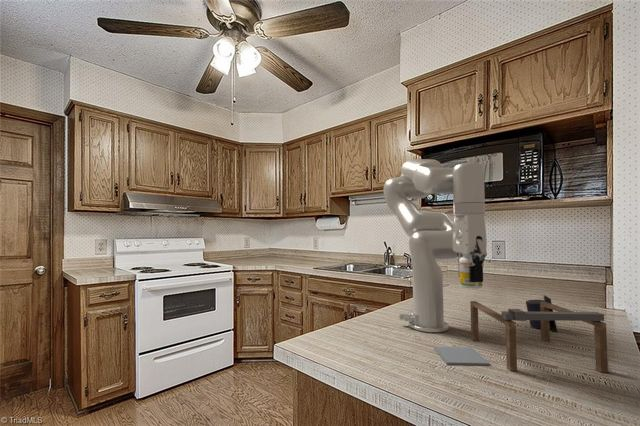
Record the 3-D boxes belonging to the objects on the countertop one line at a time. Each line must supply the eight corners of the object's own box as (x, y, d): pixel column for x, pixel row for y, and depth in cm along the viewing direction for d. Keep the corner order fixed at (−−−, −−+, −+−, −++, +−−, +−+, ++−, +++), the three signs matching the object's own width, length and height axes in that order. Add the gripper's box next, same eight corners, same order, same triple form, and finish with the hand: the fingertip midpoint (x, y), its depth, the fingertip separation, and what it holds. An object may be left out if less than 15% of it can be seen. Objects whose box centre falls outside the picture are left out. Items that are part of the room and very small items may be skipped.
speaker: (558, 327, 104) (553, 294, 105) (557, 332, 100) (552, 298, 100) (530, 324, 109) (526, 294, 109) (528, 330, 104) (523, 298, 105)
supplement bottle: (475, 284, 86) (474, 248, 87) (487, 288, 81) (486, 250, 81) (455, 285, 86) (454, 248, 86) (466, 289, 81) (465, 250, 81)
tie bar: (507, 320, 74) (506, 311, 74) (500, 317, 77) (500, 308, 77) (605, 321, 73) (605, 312, 73) (595, 317, 76) (595, 309, 76)
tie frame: (510, 371, 73) (509, 322, 74) (471, 338, 94) (470, 301, 95) (608, 372, 72) (606, 323, 73) (546, 339, 93) (545, 301, 94)
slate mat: (446, 364, 77) (446, 362, 77) (434, 348, 87) (434, 346, 87) (489, 365, 76) (489, 363, 76) (471, 349, 86) (471, 347, 86)
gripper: (442, 211, 93) (443, 274, 92) (469, 208, 76) (471, 286, 75) (468, 211, 93) (469, 274, 92) (501, 208, 76) (503, 285, 75)
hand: (470, 279), depth 83 cm, fingers closed on supplement bottle, 5 cm apart
